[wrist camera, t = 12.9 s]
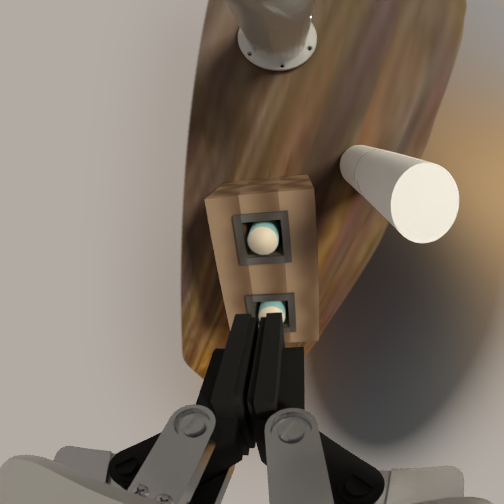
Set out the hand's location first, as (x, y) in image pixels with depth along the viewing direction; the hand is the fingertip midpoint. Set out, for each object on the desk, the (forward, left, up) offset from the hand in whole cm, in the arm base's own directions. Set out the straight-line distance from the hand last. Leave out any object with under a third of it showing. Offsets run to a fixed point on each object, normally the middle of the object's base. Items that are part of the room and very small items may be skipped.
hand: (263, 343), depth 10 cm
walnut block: (+12, -3, -39) cm, 41 cm away
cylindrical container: (-1, +13, -39) cm, 41 cm away
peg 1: (+6, -3, -38) cm, 39 cm away
